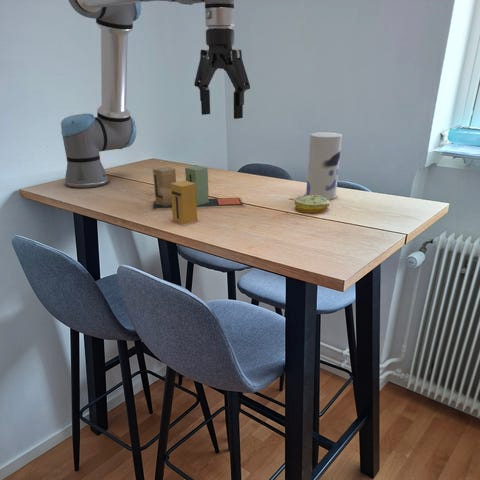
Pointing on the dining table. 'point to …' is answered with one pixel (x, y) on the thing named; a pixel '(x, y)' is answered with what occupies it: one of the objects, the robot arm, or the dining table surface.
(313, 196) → the decorated donut
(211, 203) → the word mat
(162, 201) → the tan tall block
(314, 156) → the container
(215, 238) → the dining table surface
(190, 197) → the tall mustard brick
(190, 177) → the sage I block
